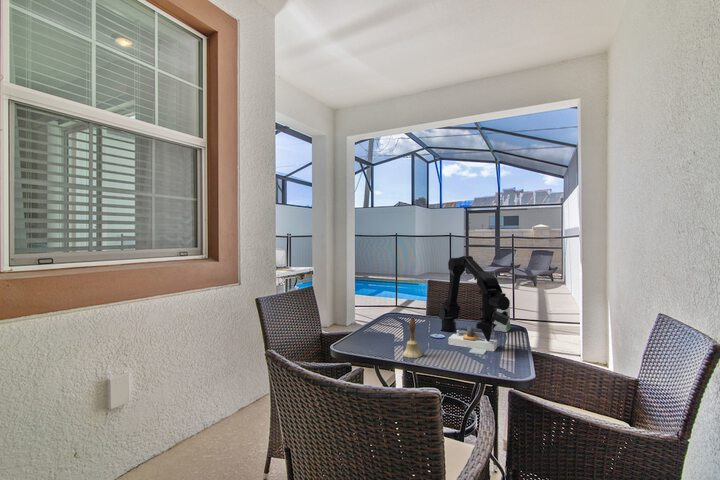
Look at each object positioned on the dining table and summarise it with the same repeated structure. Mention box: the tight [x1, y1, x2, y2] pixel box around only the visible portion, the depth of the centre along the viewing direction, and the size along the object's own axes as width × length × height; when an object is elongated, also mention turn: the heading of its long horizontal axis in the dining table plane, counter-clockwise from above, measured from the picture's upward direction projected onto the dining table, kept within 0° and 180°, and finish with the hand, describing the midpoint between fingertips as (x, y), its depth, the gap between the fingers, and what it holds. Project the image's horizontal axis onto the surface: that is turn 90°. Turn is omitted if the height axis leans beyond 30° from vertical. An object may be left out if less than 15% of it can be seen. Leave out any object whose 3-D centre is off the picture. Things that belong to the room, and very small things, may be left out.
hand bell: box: [402, 316, 423, 359], centre depth 148 cm, size 8×8×16 cm
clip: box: [456, 329, 496, 338], centre depth 161 cm, size 17×2×2 cm, turn 59°
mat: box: [468, 348, 488, 356], centre depth 151 cm, size 6×6×1 cm
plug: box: [462, 326, 479, 341], centre depth 160 cm, size 6×6×8 cm
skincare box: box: [493, 299, 511, 333], centre depth 185 cm, size 8×7×16 cm
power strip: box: [448, 332, 498, 352], centre depth 160 cm, size 20×8×4 cm, turn 59°
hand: (488, 341), depth 153 cm, fingers closed
